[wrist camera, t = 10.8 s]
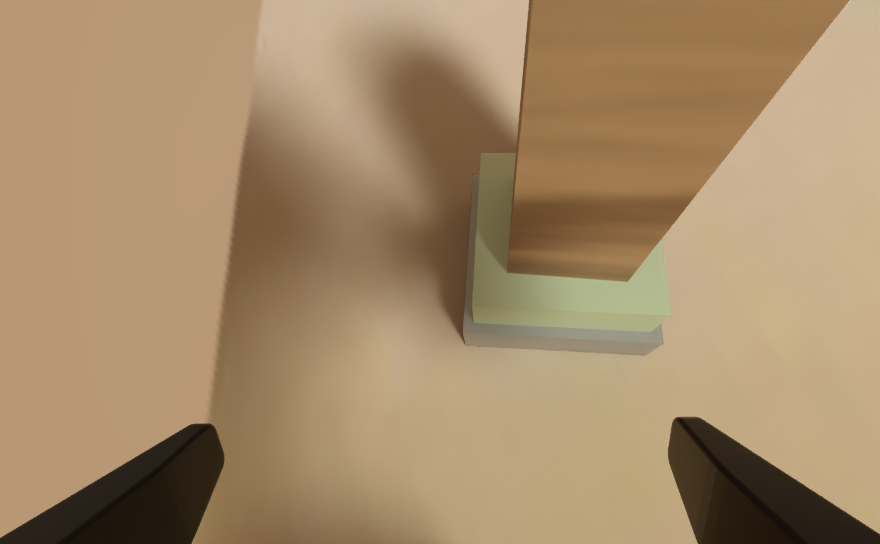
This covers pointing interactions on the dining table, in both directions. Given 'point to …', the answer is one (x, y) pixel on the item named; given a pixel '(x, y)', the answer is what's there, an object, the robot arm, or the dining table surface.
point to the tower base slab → (545, 335)
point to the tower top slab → (553, 296)
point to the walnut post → (637, 118)
